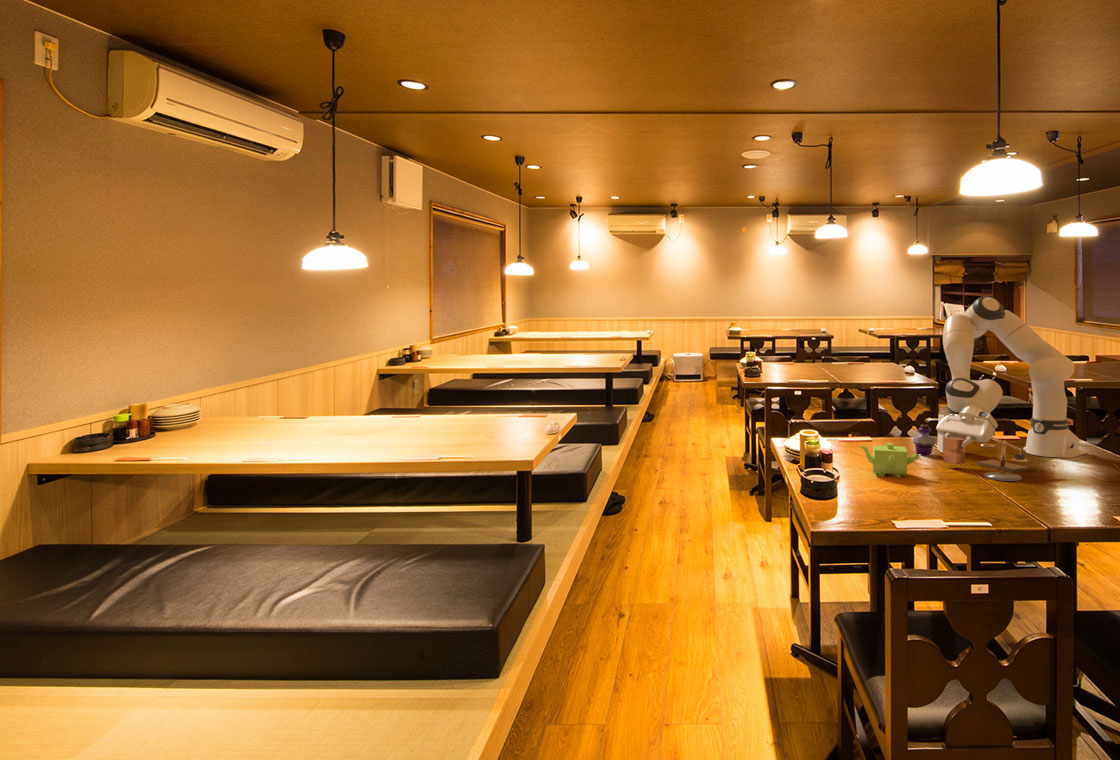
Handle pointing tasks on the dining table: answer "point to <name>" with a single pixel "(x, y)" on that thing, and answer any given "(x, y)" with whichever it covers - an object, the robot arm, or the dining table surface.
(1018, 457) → the brass balance
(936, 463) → the dining table surface
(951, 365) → the robot arm
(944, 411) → the milk carton
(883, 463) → the kettle
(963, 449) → the terracotta block
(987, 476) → the gray dish
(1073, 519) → the dining table surface
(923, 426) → the potion bottle
